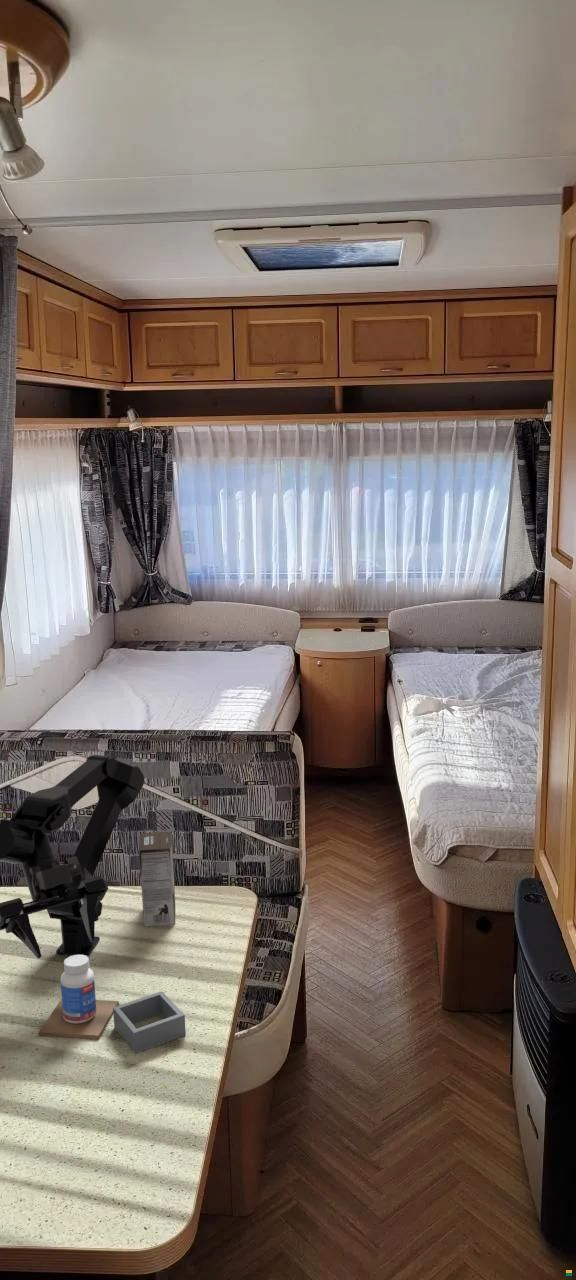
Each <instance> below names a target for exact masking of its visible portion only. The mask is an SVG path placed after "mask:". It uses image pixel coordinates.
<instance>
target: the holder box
mask: <svg viewBox="0 0 576 1280" xmlns="http://www.w3.org/2000/svg"><path fill="white" fill-rule="evenodd" d="M159 1015H161V1016H162V1018H163V1019H160V1020H158V1021H155V1022H152V1023H149V1024H147V1025H143V1026H141V1027H138V1028H137V1027H136V1026H135V1024H137V1023H140V1022H143V1021H145V1019H146V1020H148V1019H151V1018H154V1017H157V1016H159ZM112 1016H113V1024H114V1025H113V1026H114V1029H115V1030H116V1032H117V1033H118V1034H119V1035H120V1036H121V1037H122V1039H123V1040H124V1041H125V1043H126V1044H127V1045H128V1046H129V1048H130V1049H131V1050H132V1051H133V1052H134V1055H136V1054H138V1053H141V1052H144V1051H146V1050H149V1049H153V1048H155V1047H157V1046H160V1045H162V1044H166V1043H168V1042H171V1041H173V1040H176V1038H177V1039H178V1038H179V1039H180V1038H182V1037H185V1036H186V1035H187V1032H186V1030H187V1029H186V1018H185V1017H186V1016H185V1014H184V1012H183V1011H182V1010H181V1009H180V1008H179V1007H178V1006H177V1005H176V1004H175V1003H174V1002H173V1001H172V1000H171V999H170V997H168V996H167V994H166V993H165V992H163V990H162V991H158V992H155V993H153V994H150V995H145V996H143V997H139V998H137V999H134V1000H131V1001H129V1002H126V1003H125V1002H124V1003H123V1004H119V1005H118V1006H116V1007H113V1015H112ZM184 1035H185V1036H184Z"/></svg>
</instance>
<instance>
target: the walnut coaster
mask: <svg viewBox="0 0 576 1280" xmlns="http://www.w3.org/2000/svg"><path fill="white" fill-rule="evenodd" d="M119 1005H120V1001H119V1000H103V999H96V1014H95V1016H94V1017H93V1018H92V1019H90V1020H89V1021H87V1022H84V1023H78V1024H74V1023H69V1022H67V1021H66V1020H65V1019H64V1018H63V1009H62V998H60V1001H59V1002H58V1003H57V1005H56V1006H55V1008H54V1010H52V1013H51V1014H50V1015H49V1016H48V1018H47V1020H46V1021H45V1022H44V1024H43V1025H42V1027H41V1028H40V1029H39V1031H38V1036H39V1037H40V1036H41V1037H53V1038H54V1037H57V1038H74V1039H75V1038H77V1039H89V1040H90V1039H91V1040H92V1039H95V1040H99V1039H100V1038H101V1037H102V1035H103V1033H104V1032H105V1030H106V1027H108V1024H109V1022H110V1020H111V1019H112V1017H113V1016H114V1015H113V1007H116V1006H119Z"/></svg>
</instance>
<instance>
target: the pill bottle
mask: <svg viewBox="0 0 576 1280" xmlns="http://www.w3.org/2000/svg"><path fill="white" fill-rule="evenodd" d="M63 970H64V971H63V972H62V974H61V976H60V990H61V993H60V994H61V999H62V1009H63V1018H64V1019H65V1020H66V1021H67V1022H69V1023H74V1024H78V1023H84V1022H87V1021H89V1020H90V1019H92V1018H93V1017H94V1016H95V1014H96V1000H97V999H96V985H95V984H96V983H95V973H94V971H93V969H91V968H90V959H89V957H88V955H69V956H68V957H66V958H65V959H64V960H63Z"/></svg>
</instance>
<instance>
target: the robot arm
mask: <svg viewBox="0 0 576 1280" xmlns="http://www.w3.org/2000/svg"><path fill="white" fill-rule="evenodd" d="M144 784H145V775H144V774H143V772H142V770H141V768H140V767H139V766H136V765H130V764H127V763H124V762H122V761H119V760H117V759H116V758H114V757H112V756H111V755H110V756H109V755H101V754H100V755H99V754H92V755H90V756H87V758H86V759H85V762H83V763H82V764H81V765H79V766H78V767H77V768H76V769H75V770H73V771H71V772H70V774H68V775H67V776H65V777H64V778H63V779H62V780H60V781H59V782H58V783H57V784H55V785H53V786H52V787H48V788H44V789H40V790H37V791H35V792H33V793H31V794H29V795H28V796H26V797H25V799H24V800H23V801H22V803H21V805H20V806H19V808H18V809H16V811H15V813H13V815H12V816H11V817H10V819H3V818H1V819H0V862H3V863H8V864H12V865H19V864H21V868H22V871H23V874H24V878H25V881H24V882H25V885H26V887H28V891H29V894H30V896H31V900H32V901H29V902H24V901H23V900H22V899H21V898H20V897H17V898H13V899H10V900H6V901H3V902H0V931H4V930H5V933H6V934H10V933H11V934H13V935H14V936H15V937H17V938H18V939H19V940H20V941H21V942H22V943H23V944H24V945H25V946H26V947H27V948H28V949H29V951H31V952H32V954H33V955H34V956H35V958H37V959H38V960H39V959H41V958H42V953H41V949H40V945H39V942H38V941H37V938H36V936H35V933H34V930H33V929H32V926H31V922H30V917H29V915H31V914H34V913H38V912H41V911H45V910H46V911H47V914H48V917H49V918H50V919H56V920H60V930H61V931H60V932H61V944H60V945H59V947H58V948H57V949H56V951H55V953H56V954H55V955H63V954H64V955H65V954H67V956H73V955H85V956H90V954H91V952H92V951H94V949H95V947H96V946H97V944H98V943H99V941H100V939H101V938H100V936H95V929H96V928H95V924H96V923H95V922H98V921H99V917H100V916H101V915H102V911H103V902H102V901H103V899H104V897H105V895H106V894H107V892H108V890H109V886H108V883H107V880H106V879H105V878H103V877H102V876H101V875H99V876H95V877H94V874H95V871H96V869H97V867H98V865H99V863H100V860H101V859H102V856H103V854H104V852H105V850H106V848H107V844H108V842H109V840H110V838H111V836H112V834H113V832H114V829H115V826H116V824H117V822H118V820H119V817H120V815H121V813H122V811H123V810H125V808H127V807H128V806H130V805H131V804H132V803H134V802H135V801H136V799H137V797H138V795H139V794H140V792H141V790H142V788H143V787H144ZM95 788H96V790H97V796H98V801H97V803H96V805H95V807H94V810H93V812H92V813H91V816H90V818H89V820H88V823H87V825H86V826H85V829H84V831H83V834H82V836H81V838H80V839H79V842H78V844H77V846H76V849H75V851H74V853H73V855H72V857H67V858H66V859H64V861H63V864H62V865H61V864H60V862H59V860H56V856H55V853H54V850H53V848H52V845H51V843H53V842H54V841H55V838H54V837H53V836H52V835H51V832H53V831H58V830H60V829H61V828H62V827H63V825H64V824H66V822H67V821H68V820H69V819H70V818H71V816H72V809H73V806H75V805H76V804H77V803H78V802H79V801H81V799H83V798H84V797H85V796H87V795H88V794H89V793H90V792H91V791H92V790H93V789H95Z"/></svg>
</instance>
